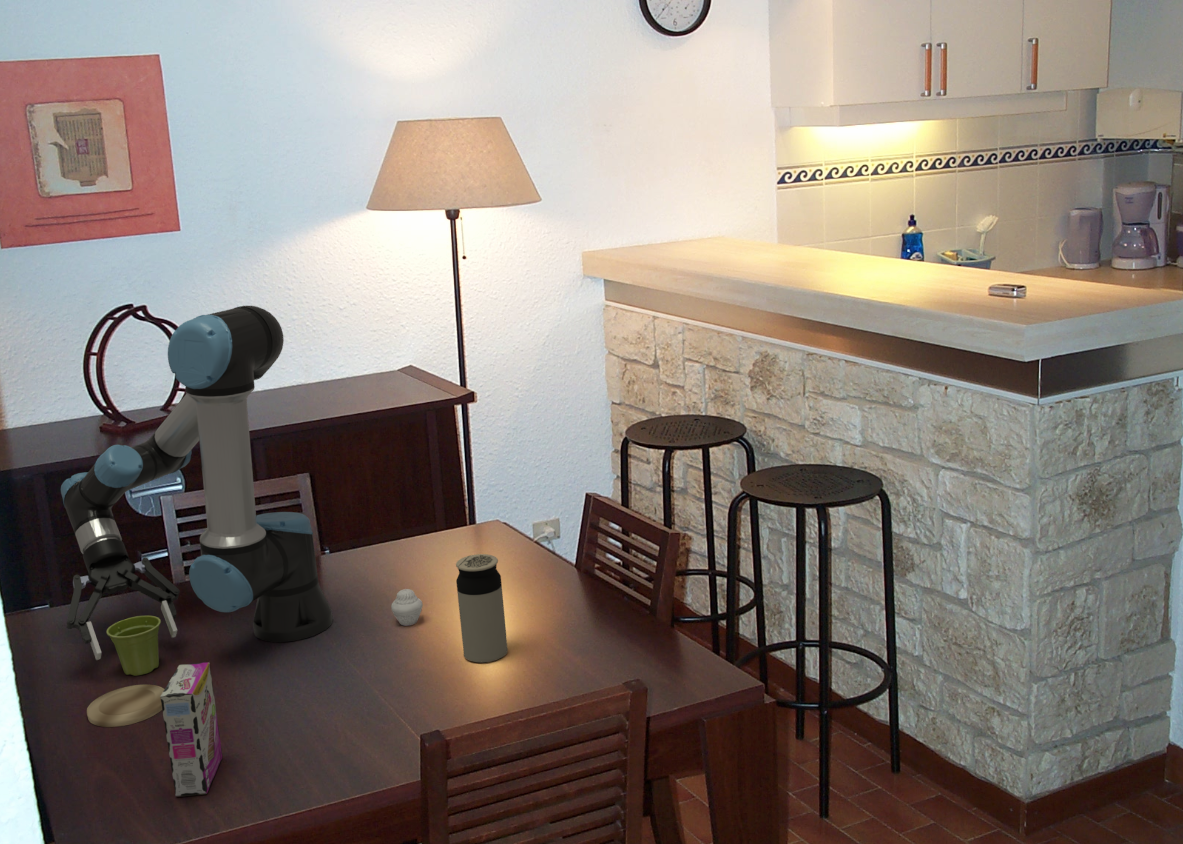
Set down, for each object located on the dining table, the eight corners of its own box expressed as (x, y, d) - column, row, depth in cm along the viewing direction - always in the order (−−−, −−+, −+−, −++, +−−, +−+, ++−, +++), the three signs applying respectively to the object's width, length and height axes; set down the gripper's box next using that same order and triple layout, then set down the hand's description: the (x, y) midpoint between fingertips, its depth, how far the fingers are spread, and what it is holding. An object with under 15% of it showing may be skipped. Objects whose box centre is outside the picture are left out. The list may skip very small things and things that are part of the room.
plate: (181, 691, 211) (180, 684, 210) (143, 727, 198) (142, 720, 198) (114, 690, 213) (112, 683, 212) (72, 726, 200) (71, 719, 200)
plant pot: (117, 685, 215) (109, 641, 213) (111, 666, 223) (103, 623, 221) (171, 671, 219) (164, 628, 217) (163, 653, 227) (156, 611, 225)
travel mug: (515, 647, 219) (507, 555, 214) (494, 666, 212) (485, 571, 207) (478, 642, 222) (468, 551, 218) (455, 660, 215) (446, 567, 211)
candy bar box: (209, 795, 176) (192, 693, 172) (175, 798, 176) (157, 697, 172) (225, 756, 187) (210, 660, 183) (193, 759, 187) (177, 663, 183)
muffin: (386, 627, 232) (382, 593, 230) (403, 614, 237) (399, 582, 236) (414, 630, 229) (410, 596, 228) (430, 617, 235) (426, 584, 233)
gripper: (166, 541, 236) (202, 633, 228) (31, 574, 223) (64, 674, 214) (170, 521, 231) (207, 616, 223) (32, 555, 217) (66, 657, 209)
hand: (137, 645), depth 218 cm, fingers open, 13 cm apart
